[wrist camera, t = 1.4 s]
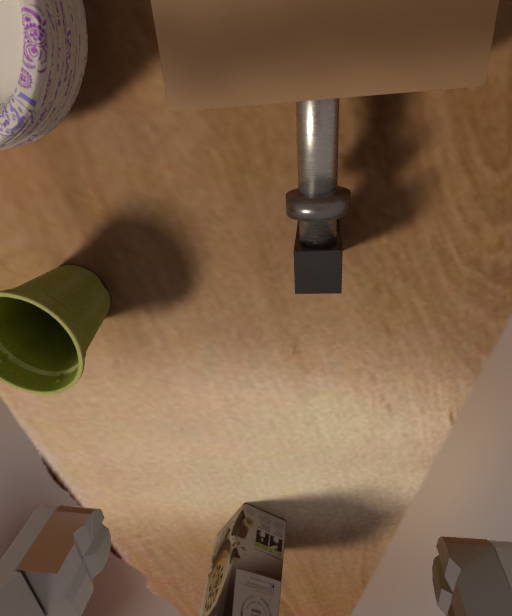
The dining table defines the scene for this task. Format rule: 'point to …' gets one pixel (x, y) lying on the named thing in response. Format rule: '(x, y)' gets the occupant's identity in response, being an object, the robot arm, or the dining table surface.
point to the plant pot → (50, 329)
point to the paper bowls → (39, 66)
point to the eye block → (318, 49)
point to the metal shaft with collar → (318, 199)
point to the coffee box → (246, 566)
